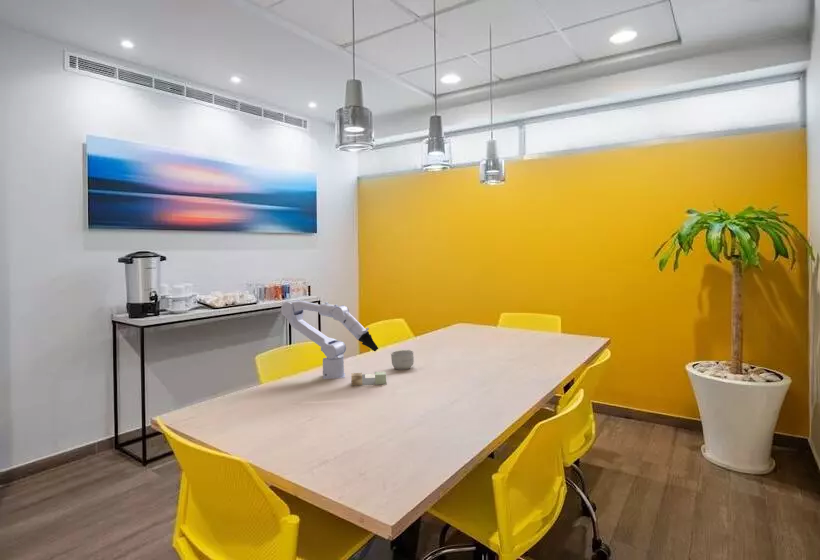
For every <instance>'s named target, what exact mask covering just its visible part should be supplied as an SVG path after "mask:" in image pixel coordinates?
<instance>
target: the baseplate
mask: <svg viewBox="0 0 820 560" xmlns="http://www.w3.org/2000/svg"><path fill="white" fill-rule="evenodd" d="M387 384H388V382H387V381H386V384H385V385H387ZM380 385H382V386H383V385H384V384H375V373H368V374H367V373H366V374H364V373H362V385H352V380H350V386H351V387H360V386H361V387H363V386H380Z"/></svg>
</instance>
